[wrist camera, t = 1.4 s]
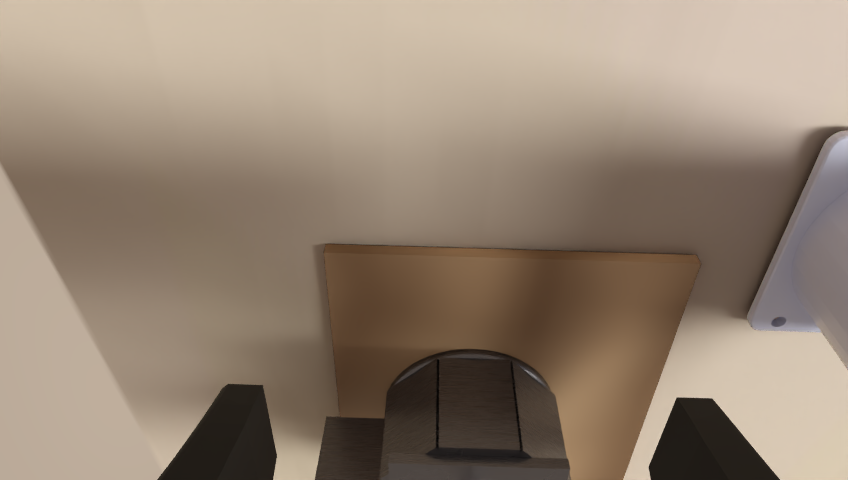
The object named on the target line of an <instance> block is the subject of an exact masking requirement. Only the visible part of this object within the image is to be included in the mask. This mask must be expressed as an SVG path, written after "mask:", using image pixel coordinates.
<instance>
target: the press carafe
mask: <svg viewBox="0 0 848 480" xmlns="http://www.w3.org/2000/svg"><path fill="white" fill-rule="evenodd" d="M315 480H571V477H570V465H569V460H568V459H567V455H566V450H565V445H564V439H563V434H562V428H561V423H560V418H559V412H558V407H557V401H556V396H555V394H553V393H552V392H551V390H550V388H549V386H548V384H547V382H546V380H545V379H544V378H543V377H542V375H541V374H540V373H539V372H538V371H536V370H535V369H534V368H533V367H531V366H530V365H528V364H527V363H525V362H523V361H521V360H520V359H518V358H515V357H512V356H510V355H507V354H503V353H500V352H495V351H490V350H481V349H459V350H450V351H445V352H440V353H437V354H434V355H430V356H428V357H425V358H423V359H421V360H418V361H417V362H415V363H413V364H411V365H410V366H409V367H407V368H406V369H405V370H403V371H402V372H401V373H400V374H399V375H398V376H397V377H396V378H395V380H394V381H393V383H392V384H391V386H390V388H389V389H388V391H387V396H386V407H385V417H384V419H383V418H352V417H326V423H325V428H324V434H323V439H322V444H321V450H320V455H319V461H318V466H317V471H316V477H315Z"/></svg>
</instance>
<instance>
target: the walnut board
mask: <svg viewBox="0 0 848 480" xmlns="http://www.w3.org/2000/svg"><path fill="white" fill-rule="evenodd" d="M324 261H325V271H326V281H327V291H328V301H329V311H330V321H331V331H332V341H333V352H334V362H335V372H336V382H337V392H338V402H339V412H340V417H352V418H383V419H384V417H385V407H386V396H387V391H388V389H389V388H390V386H391V384H392V383H393V381H394V380H395V378H396V377H397V376H398V375H399V374H400V373H401V372H402V371H403V370H405V369H406V368H407V367H409V366H410V365H411V364H413V363H415V362H417V361H418V360H421V359H423V358H425V357H428V356H430V355H434V354H437V353H440V352H445V351H450V350H459V349H481V350H490V351H495V352H500V353H503V354H507V355H510V356H512V357H515V358H518V359H520V360H521V361H523V362H525V363H527V364H528V365H530V366H531V367H533V368H534V369H535V370H536V371H538V372H539V373H540V374H541V375H542V377H543V378H544V379H545V380H546V382H547V384H548V386H549V388H550V390H551V392H552V393H553V394H555V396H556V401H557V407H558V412H559V418H560V423H561V428H562V434H563V439H564V445H565V450H566V455H567V459H568V460H569V465H570V477H571V480H623V478H624V475H625V473H626V470H627V467H628V464H629V462H630V459H631V456H632V453H633V451H634V448H635V445H636V442H637V439H638V437H639V434H640V431H641V428H642V426H643V423H644V420H645V417H646V415H647V412H648V409H649V406H650V404H651V401H652V398H653V395H654V393H655V390H656V387H657V384H658V382H659V379H660V376H661V373H662V371H663V368H664V365H665V362H666V360H667V357H668V354H669V351H670V349H671V346H672V343H673V340H674V338H675V335H676V332H677V329H678V326H679V324H680V321H681V318H682V315H683V313H684V310H685V307H686V304H687V302H688V299H689V296H690V293H691V291H692V288H693V285H694V282H695V280H696V277H697V274H698V271H699V269H700V266H701V263H700V261H699V259H698V257H697V255H681V254H647V253H612V252H578V251H544V250H510V249H476V248H442V247H408V246H374V245H339V244H326V246H325V250H324Z"/></svg>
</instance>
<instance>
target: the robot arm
mask: <svg viewBox="0 0 848 480" xmlns="http://www.w3.org/2000/svg"><path fill="white" fill-rule="evenodd" d="M777 317H779V318H777ZM775 318H777V319H775ZM747 320H748V322H749V324H750V325H751V327H752V328H754V329H755V330H765V331H798V332H822V333H823V335H824V336H825V338H826V339H827V341H828V342H829V344H830V345H831V346H832V348H833V349H834V351H835V352H836V354H837V355H838V356H839V358H840V359H841V361H842V362H843V364H844V365H845V366H846V368H847V369H848V130H846V131H840V132H837V133H835V134H833V135H832V136H831V137H829V138H828V139H827V140H826V142H825V143H824V145H823V147H822V149H821V151H820V154H819V156H818V158H817V160H816V162H815V165H814V167H813V169H812V171H811V174H810V176H809V178H808V180H807V183H806V185H805V187H804V189H803V192H802V194H801V196H800V198H799V200H798V203H797V205H796V207H795V209H794V212H793V214H792V216H791V218H790V221H789V223H788V225H787V227H786V230H785V232H784V234H783V236H782V238H781V241H780V243H779V245H778V247H777V250H776V252H775V254H774V256H773V259H772V261H771V263H770V265H769V268H768V270H767V272H766V274H765V276H764V279H763V281H762V283H761V285H760V288H759V290H758V292H757V294H756V297H755V299H754V301H753V303H752V306H751V308H750V310H749V312H748V314H747ZM276 458H277V454H276V449H275V444H274V439H273V434H272V429H271V424H270V419H269V414H268V409H267V404H266V399H265V394H264V389H263V385H240V384H227V385H226V386H225V387H224V388H222V390H221V391H220V393H219V394H218V396H217V397H216V399H215V400H214V402H213V403H212V405H211V406H210V408H209V409H208V411H207V412H206V414H205V415H204V417H203V418H202V420H201V421H200V423H199V424H198V425H197V427H196V428H195V430H194V431H193V432H192V434H191V435H190V437H189V438H188V439H187V441H186V442H185V444H184V445H183V446H182V448H181V449H180V451H179V452H178V453H177V455H176V456H175V457H174V459H173V460H172V461H171V463H170V464H169V465H168V467H167V468H166V469H165V471H164V472H163V473H162V474H161V476H160V477H159V478H158V480H273V476H274V470H275V464H276ZM649 471H650V477H651V480H780V479H779V478H778V477H777V476H776V474H775V473H774V472H773V471H772V470H771V469H770V467H769V466H768V465H767V464H766V463H765V461H764V460H763V459H762V458H761V457H760V455H759V454H758V453H757V452H756V451H755V449H754V448H753V447H752V446H751V445H750V443H749V442H748V441H747V440H746V439H745V437H744V436H743V435H742V434H741V432H740V431H739V430H738V429H737V428H736V426H735V425H734V424H733V423H732V422H731V420H730V419H729V418H728V417H727V416H726V414H725V413H724V412H723V411H722V410H721V408H720V407H719V406H718V405H717V404H716V402H715V401H714V400H713V399H709V398H676V401H675V403H674V406H673V408H672V411H671V413H670V416H669V418H668V421H667V423H666V426H665V428H664V431H663V433H662V435H661V438H660V440H659V443H658V445H657V448H656V450H655V453H654V455H653V458H652V460H651V463H650V465H649Z"/></svg>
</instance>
